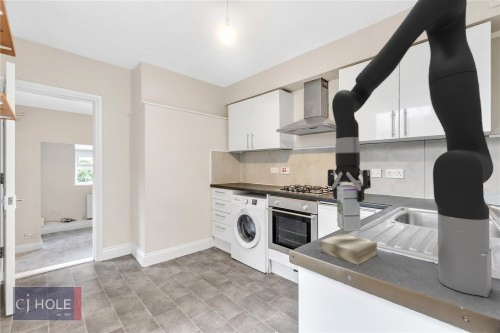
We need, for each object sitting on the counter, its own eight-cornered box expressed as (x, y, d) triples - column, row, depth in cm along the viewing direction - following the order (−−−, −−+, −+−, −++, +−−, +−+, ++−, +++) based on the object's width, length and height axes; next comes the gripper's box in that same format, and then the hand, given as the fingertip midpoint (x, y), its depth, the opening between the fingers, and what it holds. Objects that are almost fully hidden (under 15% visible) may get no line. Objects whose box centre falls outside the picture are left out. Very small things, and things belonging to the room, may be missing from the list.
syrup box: (361, 231, 73) (360, 186, 73) (342, 231, 73) (342, 186, 73) (353, 226, 79) (353, 184, 79) (336, 226, 79) (336, 185, 79)
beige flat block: (376, 254, 75) (376, 242, 75) (358, 265, 68) (357, 251, 68) (340, 243, 85) (340, 233, 85) (321, 251, 78) (320, 240, 78)
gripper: (374, 151, 72) (375, 201, 73) (334, 153, 84) (335, 196, 84) (362, 150, 68) (363, 204, 68) (322, 152, 79) (322, 199, 80)
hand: (347, 200), depth 76 cm, fingers closed on syrup box, 8 cm apart
